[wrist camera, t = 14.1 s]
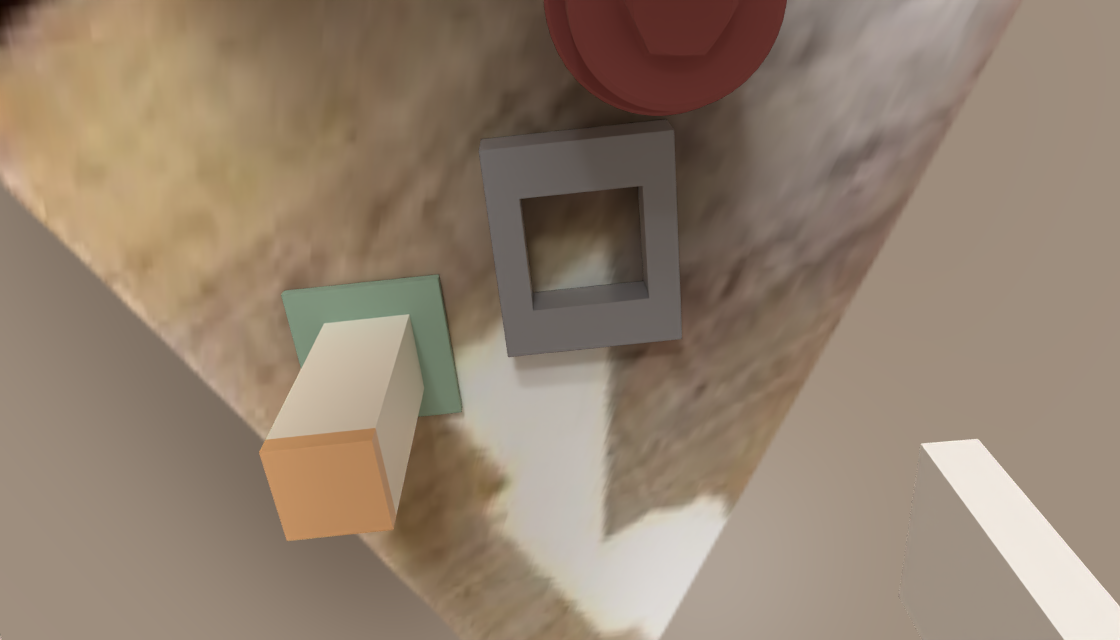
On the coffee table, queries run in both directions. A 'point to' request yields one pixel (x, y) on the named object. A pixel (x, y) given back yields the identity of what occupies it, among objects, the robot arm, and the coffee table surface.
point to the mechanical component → (663, 48)
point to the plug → (346, 430)
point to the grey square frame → (576, 168)
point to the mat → (385, 300)
